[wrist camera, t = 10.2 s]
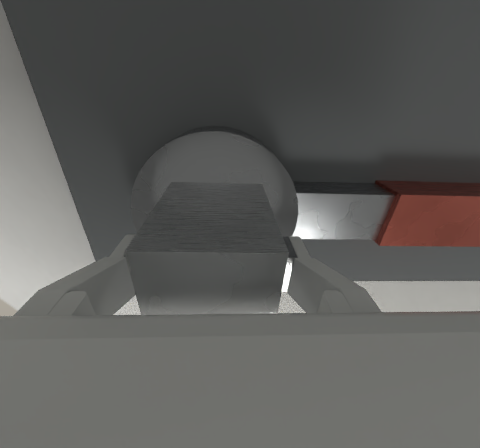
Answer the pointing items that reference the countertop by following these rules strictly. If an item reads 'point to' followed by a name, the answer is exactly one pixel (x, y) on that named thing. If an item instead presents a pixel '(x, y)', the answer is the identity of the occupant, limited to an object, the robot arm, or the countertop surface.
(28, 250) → the countertop surface
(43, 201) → the countertop surface
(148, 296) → the light grey block
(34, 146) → the countertop surface
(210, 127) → the ratchet
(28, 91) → the countertop surface
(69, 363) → the robot arm
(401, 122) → the mat
